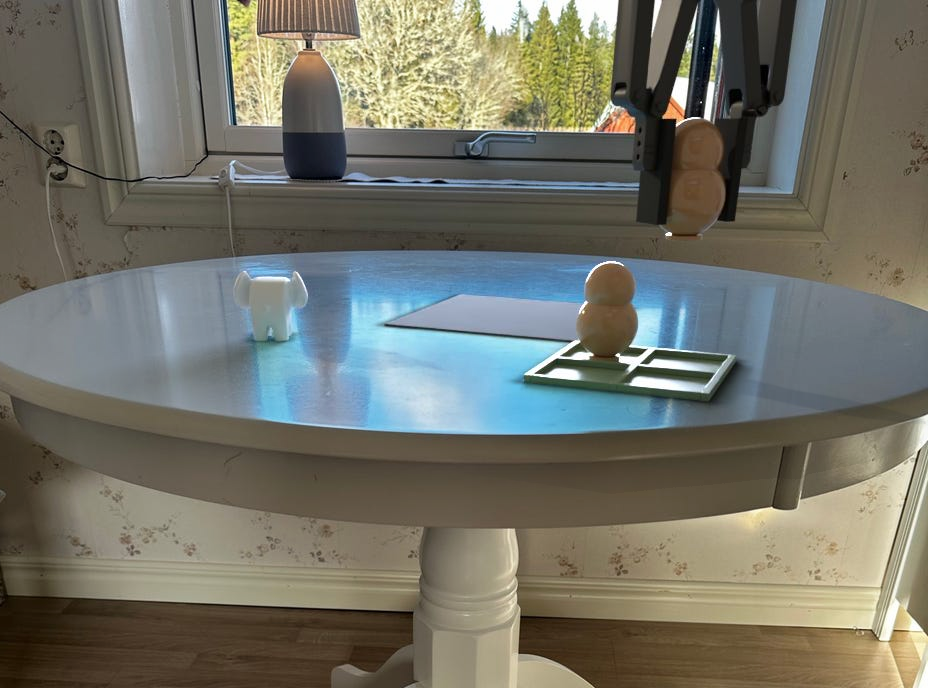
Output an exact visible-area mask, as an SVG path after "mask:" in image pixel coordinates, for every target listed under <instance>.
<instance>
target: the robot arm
mask: <svg viewBox="0 0 928 688" xmlns="http://www.w3.org/2000/svg"><path fill="white" fill-rule="evenodd" d="M701 1H702V0H661V2H660V6H659V10H658V13H657V17H656V21H655V24H654V15H655V14H654V12H655V5H656V0H617V10H616V11H617V13H616V25H615V34H614V35H615V38H614V46H613V47H614V49H613V62H612V72H611V83H610V101H611V104H612V105H613V106H615V107H621V108H622V109H624V110H625V111H626V113H627V115H628V116H629V117H631V118H634V133H633V135H634V136H633V148H632V157H631V158H632V159H631V163H632V168H633V171H639V183H638V195H637V205H636V216H635V217H636V218H635V222H636V223H640V224H641V223H642V224H648V225H654V226H660V225H666V222H667V212H668V202H669V192H670V182H671V172H672V162H673V152H674V142H675V132H676V125H677V120H678V118H663V117H664V116H665V114H667V111H668V108H669V105H670V102H671V98H672V94H673V92H674V87H675V84H676V82H677V77H678V75H679V71H680V67H681V64H682V60H683V57H684V53H685V50H686V46H687V43H688V40H689V36H690V32H691V29H692V25H693V23H694V19H695V16H696V12H697V8H698V5H699V4H700V2H701ZM713 3H714V4H713V5H715V7H717V8H718V9H717V10H718V18H719V33H720V34H719V35H720V47H721V61H722V75H723V77H722V78H723V88H724V103H725V112H726V114H727V116H728V118H726V117H725V118H724V117H723V118H722V117H721V118H720V117H719V118H718V117H717V118H714V123H713V124H714V125H716V127H717V128H718V129H719V131H720V132H721V134H722V137H723V141H724V155H723V159H722V162H721V164H720V166H719V168H718V169H719V170H720V172H721V174H722V176H723V178H724V181H725V185H726V200H725V204H724V208H723V210H722V212H721V214H720V216H719V217H718V219H717V220H716V221H717V222H718V221H719V222H724V223H725V222H726V223H728V222H729V223H730V222H736V217H737V208H738V200H739V191H740V185H741V177H742V170H743V169H744V170H745V169H748V167H749V164H750V161H751V155H752V149H753V141H754V135H755V134H754V133H755V127H756V120H757V118H763V117H764V116H766V115H767V113H768V112H769V109H770V108H772V107H778V106H780V105H781V104H782V103H783V102H784V100H785V94H786V87H787V80H788V72H789V64H790V57H791V50H792V49H791V47H792V43H793V34H794V27H795V20H796V19H795V18H796V10H797V4H798V0H713ZM653 25H654V27H653Z"/></svg>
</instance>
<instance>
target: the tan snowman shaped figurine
mask: <svg viewBox="0 0 928 688" xmlns="http://www.w3.org/2000/svg"><path fill="white" fill-rule="evenodd" d="M714 124H715V123H714V122H712V121H710V120H709V119H706V118H702V117H690V118H687V119H684V120H682V121H680V122H678V123H677V124H676V132H675V142H674V152H673V162H672V172H671V182H670V192H669V202H668V212H667V222H666V225H659V227H660V228H661V229H662V230H664V231H665V232H666V233H665V239H666V240H668V241H678V242H694V241H695V242H696V241H702V240H703V234H702V233H704V232H706V231H707V230H708V229H710V228H711V227H712V226H713V225H714V224H715V223H716V221H717V219H718V217H719V216H720V214H721V212H722V210H723V208H724V204H725V200H726V185H725V181H724V178H723V176H722V174H721V172H720V170H719V169H718V168H719V166H720V164H721V162H722V159H723V155H724V141H723V137H722V134H721V132H720V131H719V129H718V128H717V127H716V125H714Z"/></svg>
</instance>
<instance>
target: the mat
mask: <svg viewBox="0 0 928 688" xmlns="http://www.w3.org/2000/svg"><path fill="white" fill-rule="evenodd" d="M584 303H585V302H571V301H557V300H546V299H545V300H544V299H530V298H517V297H503V296H491V295H478V294H464V293H460V294H457V295H455V296H453V297H450V298H447V299H445V300H441V301H440V302H437V303H435V304H432V305H430V306H426V307H424V308H422V309H419V310H416V311H414V312H412V313H409V314H406V315H403V316H402V317H398V318H396V319H394V320H390V321H388V322H385V323H383V324H384V327H395V328H404V329H405V328H407V329H419V330H431V331H442V332H455V333H464V334H474V335H475V334H477V335H487V336H497V337H498V336H499V337H511V338H522V339H532V340H544V341H555V342H565V343H566V342H568V343H572V342H574V341H579V340H578V337H577V334H576V319H577V315H578V313H579V310H580V309H581V307H582V306H583V304H584Z"/></svg>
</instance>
